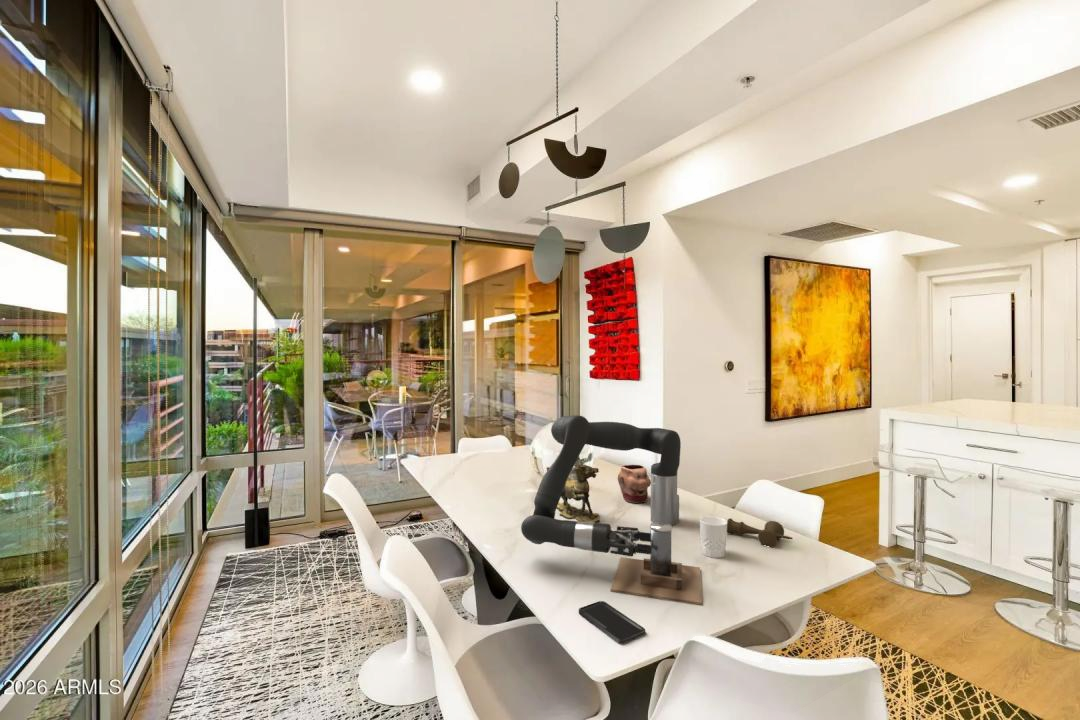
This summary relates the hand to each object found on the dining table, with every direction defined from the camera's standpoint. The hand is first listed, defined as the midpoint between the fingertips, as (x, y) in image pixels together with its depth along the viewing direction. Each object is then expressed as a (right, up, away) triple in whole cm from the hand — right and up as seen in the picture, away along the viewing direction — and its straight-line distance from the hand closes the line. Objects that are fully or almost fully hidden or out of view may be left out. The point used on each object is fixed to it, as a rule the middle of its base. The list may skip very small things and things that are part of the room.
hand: (652, 543), depth 128 cm
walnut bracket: (+2, -10, 0) cm, 10 cm away
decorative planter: (+8, -9, +71) cm, 72 cm away
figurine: (-17, -9, +53) cm, 56 cm away
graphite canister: (+2, -9, 0) cm, 9 cm away
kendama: (+41, -10, +28) cm, 51 cm away
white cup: (+22, -10, +17) cm, 30 cm away
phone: (-14, -10, -21) cm, 27 cm away
